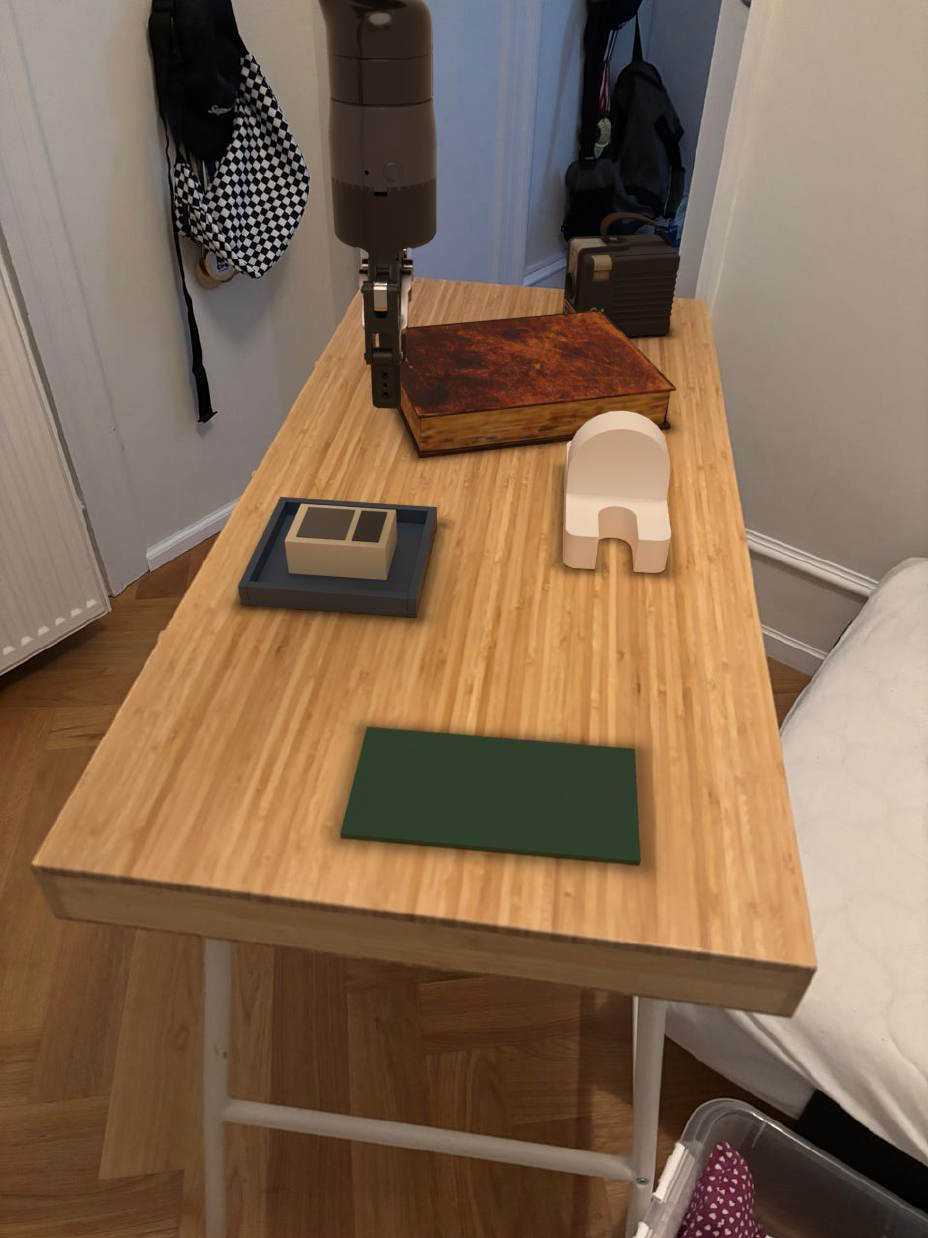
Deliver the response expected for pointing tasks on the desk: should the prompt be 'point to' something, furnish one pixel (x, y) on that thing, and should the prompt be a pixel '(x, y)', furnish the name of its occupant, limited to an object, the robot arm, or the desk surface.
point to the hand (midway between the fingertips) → (390, 382)
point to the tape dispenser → (617, 491)
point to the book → (522, 381)
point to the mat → (495, 795)
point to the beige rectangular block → (342, 541)
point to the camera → (623, 278)
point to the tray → (392, 597)
